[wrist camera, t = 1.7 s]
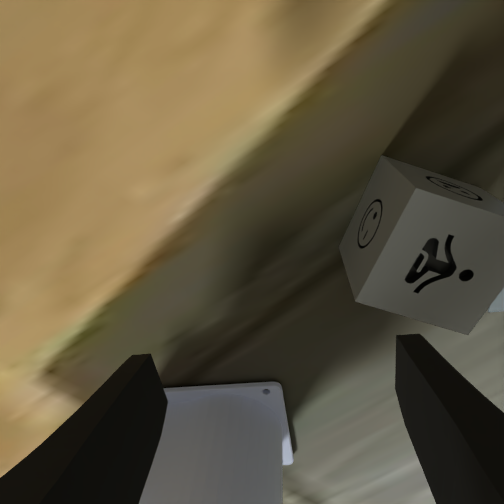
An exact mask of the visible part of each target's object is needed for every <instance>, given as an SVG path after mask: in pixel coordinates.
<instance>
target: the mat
mask: <svg viewBox="0 0 504 504" xmlns="http://www.w3.org/2000/svg"><path fill="white" fill-rule="evenodd" d="M499 311H504V288H503V289H502V291H501V292H500V293H499V295H498V296H497V297H496V299H495V300H494V301H493V303H492V304H491V305H490V307H489V308H488V312H499Z"/></svg>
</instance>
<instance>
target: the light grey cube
mask: <svg viewBox="0 0 504 504" xmlns="http://www.w3.org/2000/svg"><path fill="white" fill-rule="evenodd" d="M339 250H340V254H341V257H342V260H343V263H344V267H345V270H346V273H347V277H348V280H349V283H350V286H351V290H352V293H353V296H354V300H355V302H358V303H361V304H365V305H368V306H371V307H375V308H378V309H382V310H385V311H388V312H392V313H395V314H398V315H402V316H405V317H408V318H412V319H415V320H418V321H422V322H425V323H429V324H432V325H435V326H439V327H442V328H445V329H449V330H452V331H455V332H459V333H462V334H466V335H469V333H470V332H471V331H472V329H473V328H474V327H475V325H476V324H477V323H478V321H479V320H480V319H481V317H482V316H483V315H484V313H485V312H486V311H487V309H488V308H489V307H490V305H491V304H492V303H493V301H494V300H495V299H496V297H497V296H498V295H499V293H500V292H501V291H502V289H503V288H504V203H503V202H502V201H500V200H499V199H497V198H495V197H494V196H492V195H491V194H489V193H488V192H486V191H485V190H483V189H482V188H480V187H477V186H474V185H471V184H468V183H465V182H461V181H458V180H455V179H452V178H449V177H446V176H443V175H440V174H437V173H434V172H431V171H428V170H425V169H422V168H419V167H416V166H413V165H410V164H407V163H404V162H401V161H398V160H395V159H392V158H389V157H386V156H383V155H381V157H380V159H379V161H378V164H377V166H376V168H375V170H374V172H373V174H372V176H371V179H370V181H369V183H368V185H367V187H366V189H365V191H364V193H363V196H362V198H361V200H360V202H359V204H358V206H357V208H356V211H355V213H354V215H353V217H352V219H351V221H350V223H349V226H348V228H347V230H346V232H345V234H344V236H343V238H342V241H341V243H340V245H339Z"/></svg>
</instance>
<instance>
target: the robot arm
mask: <svg viewBox="0 0 504 504" xmlns="http://www.w3.org/2000/svg"><path fill="white" fill-rule="evenodd" d="M264 389H268V390H264ZM395 390H396V393H397V397H398V401H399V405H400V408H401V412H402V415H403V419H404V423H405V426H406V428H407V431H408V433H409V436H410V439H411V441H412V444H413V446H414V449H415V451H416V454H417V456H418V459H419V461H420V464H421V466H422V469H423V471H424V474H425V476H426V479H427V482H428V484H429V487H430V489H431V492H432V494H433V497H434V499H435V502H436V504H504V413H503V412H502V411H501V410H500V409H499V408H497V407H496V406H495V405H494V404H493V403H492V402H491V401H489V400H488V399H487V398H486V397H485V396H484V395H483V394H482V393H481V392H479V391H478V390H477V389H476V388H475V387H474V386H473V385H472V384H471V383H470V382H468V381H467V380H466V379H465V378H464V377H463V376H462V375H461V374H460V373H459V372H458V371H457V370H456V369H455V368H454V367H453V366H452V365H451V364H450V363H449V362H448V361H446V360H445V359H444V358H443V357H442V356H441V355H440V354H439V353H438V352H437V350H436V349H435V348H434V347H433V346H432V345H431V344H430V343H429V342H428V341H427V340H426V339H425V338H424V337H423V336H422V335H420V334H409V335H396V376H395ZM293 461H294V456H293V450H292V444H291V438H290V432H289V426H288V420H287V414H286V409H285V403H284V397H283V391H282V386H281V384H280V383H278V382H258V383H242V384H226V385H209V386H193V387H176V388H163V386H162V383H161V381H160V378H159V375H158V372H157V370H156V367H155V364H154V361H153V359H152V356H151V354H141V355H132V356H131V357H130V358H128V359H127V360H126V361H125V362H124V363H123V364H122V365H121V366H120V367H119V368H118V369H117V370H116V371H115V372H114V373H113V374H112V376H111V377H110V378H109V379H108V380H107V381H106V382H105V383H104V384H103V385H102V386H101V387H100V388H99V389H98V390H97V391H96V392H95V393H94V394H93V395H92V396H91V397H90V398H89V399H88V400H87V401H86V402H85V403H84V404H83V405H82V406H81V407H80V408H79V409H78V410H77V411H76V412H75V413H74V414H73V415H72V416H71V417H70V418H68V419H67V420H66V421H65V422H64V423H63V424H62V425H61V426H60V427H59V428H58V429H57V430H56V431H55V432H54V433H53V434H51V435H50V436H49V437H48V438H47V439H46V440H45V441H44V442H43V443H42V444H41V445H39V446H38V447H37V448H36V449H35V450H34V451H32V452H31V453H30V454H29V455H28V456H27V457H25V458H24V459H23V460H22V461H21V462H19V463H18V464H17V465H16V466H14V467H13V468H12V469H11V470H10V471H8V472H7V473H6V474H5V475H3V476H2V477H1V478H0V504H283V465H290V464H292V463H293Z"/></svg>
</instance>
